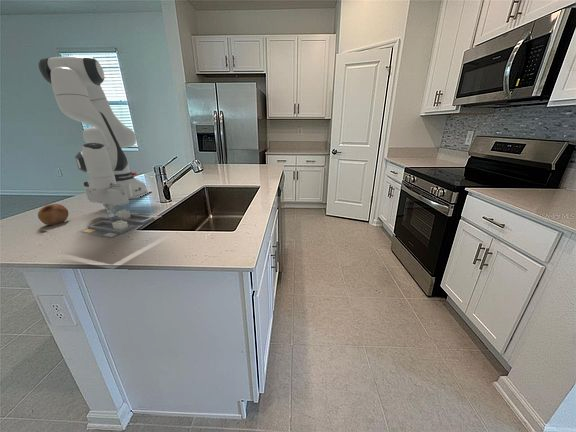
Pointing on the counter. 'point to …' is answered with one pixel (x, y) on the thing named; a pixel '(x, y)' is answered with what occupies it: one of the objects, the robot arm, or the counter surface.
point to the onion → (53, 214)
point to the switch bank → (106, 227)
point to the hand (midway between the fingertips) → (111, 212)
